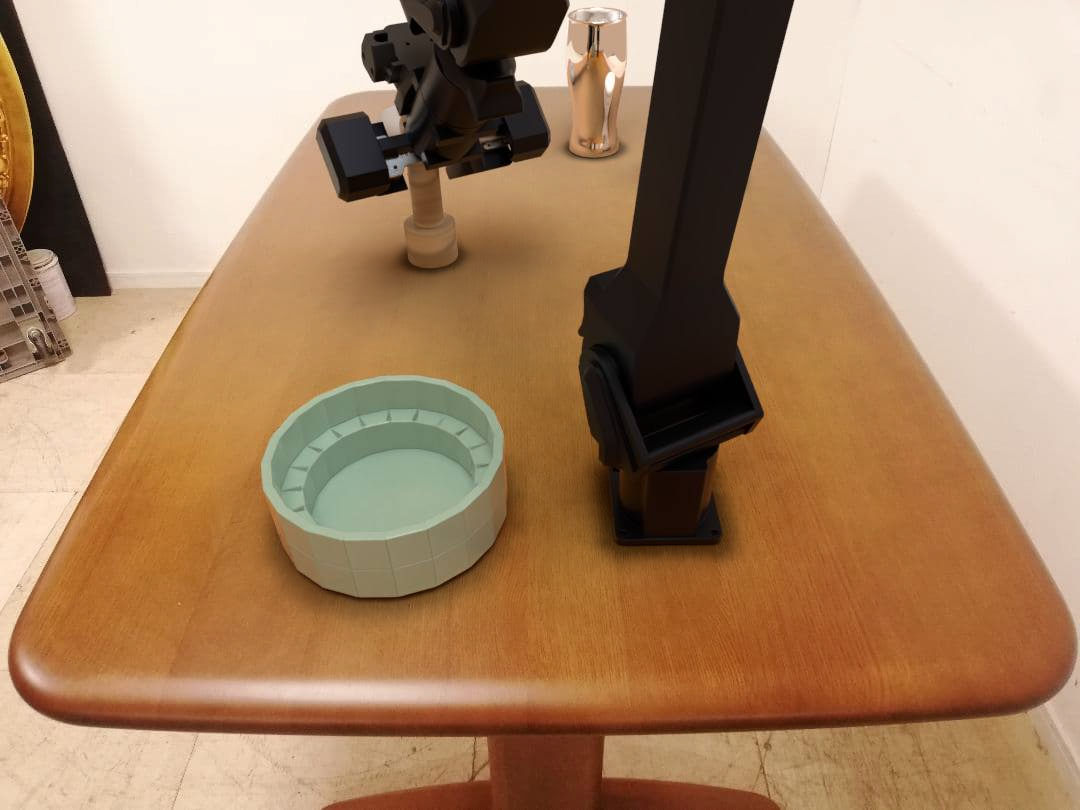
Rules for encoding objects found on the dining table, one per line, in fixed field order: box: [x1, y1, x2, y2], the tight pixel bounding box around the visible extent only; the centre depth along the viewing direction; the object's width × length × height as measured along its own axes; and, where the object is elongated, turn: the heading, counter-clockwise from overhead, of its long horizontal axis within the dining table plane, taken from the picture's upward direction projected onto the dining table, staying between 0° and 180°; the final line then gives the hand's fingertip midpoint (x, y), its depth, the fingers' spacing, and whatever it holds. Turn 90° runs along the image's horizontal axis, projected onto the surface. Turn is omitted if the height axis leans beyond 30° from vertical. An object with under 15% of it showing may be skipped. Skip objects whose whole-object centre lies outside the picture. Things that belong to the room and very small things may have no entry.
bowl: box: [260, 374, 508, 598], centre depth 48 cm, size 14×14×6 cm
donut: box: [377, 103, 401, 137], centre depth 98 cm, size 10×4×10 cm
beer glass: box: [565, 6, 629, 159], centre depth 90 cm, size 7×7×15 cm
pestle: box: [399, 115, 459, 269], centre depth 71 cm, size 5×5×14 cm
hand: (419, 181), depth 72 cm, fingers open, 6 cm apart
